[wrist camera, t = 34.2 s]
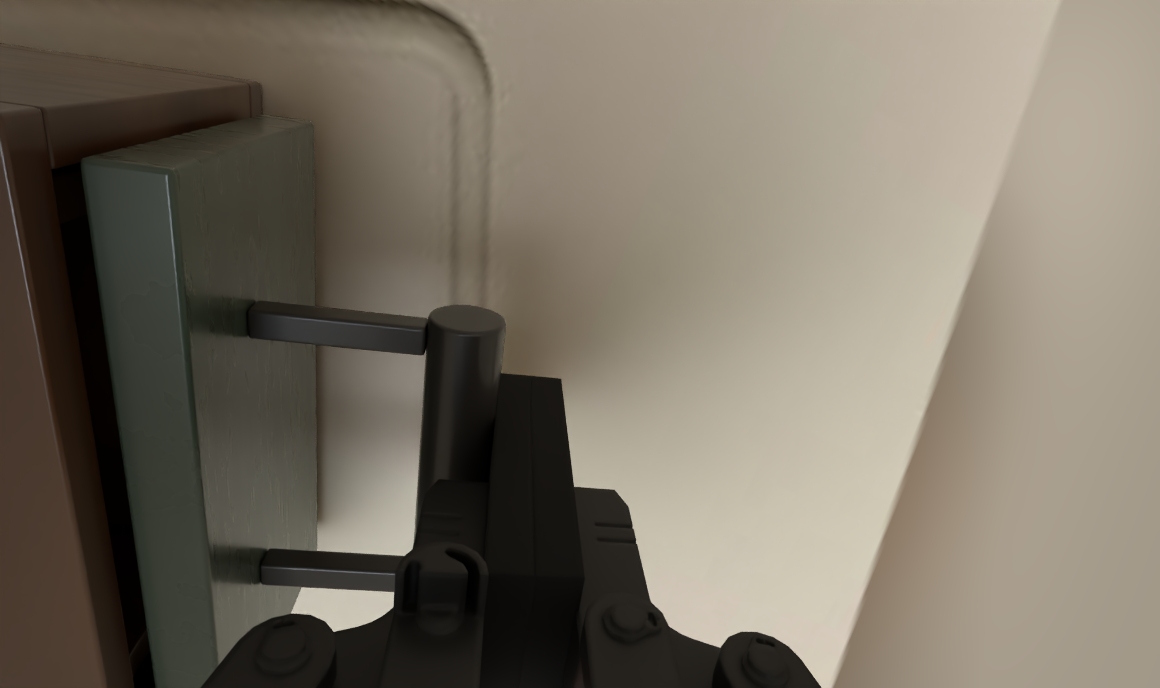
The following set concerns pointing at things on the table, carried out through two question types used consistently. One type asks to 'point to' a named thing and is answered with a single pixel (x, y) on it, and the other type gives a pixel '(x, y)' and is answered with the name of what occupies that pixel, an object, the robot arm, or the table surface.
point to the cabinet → (67, 356)
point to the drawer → (233, 382)
